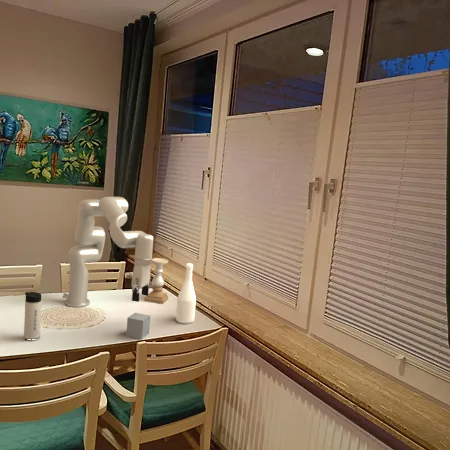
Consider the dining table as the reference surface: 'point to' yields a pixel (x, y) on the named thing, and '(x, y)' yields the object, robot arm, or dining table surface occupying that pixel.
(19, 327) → the dining table surface
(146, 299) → the candle holder
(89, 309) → the dining table surface
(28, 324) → the travel mug
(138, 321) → the matte gray cube
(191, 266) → the wine bottle
